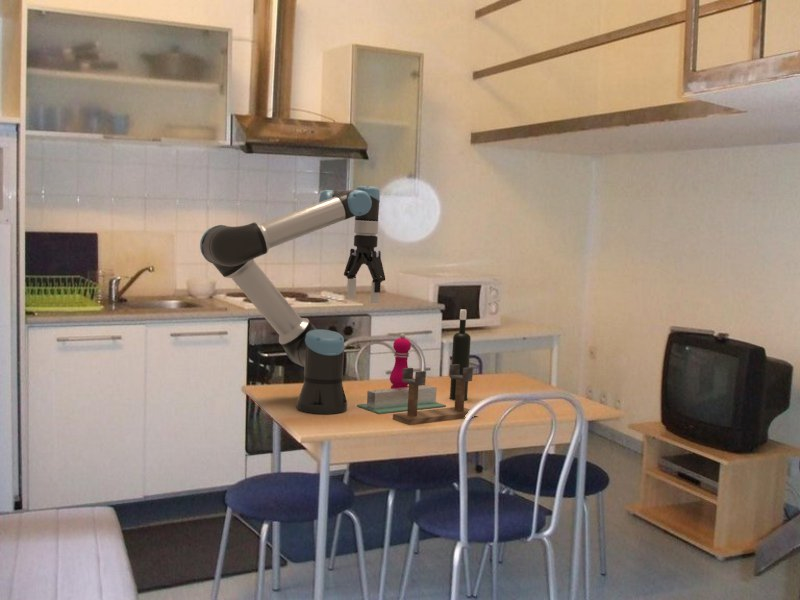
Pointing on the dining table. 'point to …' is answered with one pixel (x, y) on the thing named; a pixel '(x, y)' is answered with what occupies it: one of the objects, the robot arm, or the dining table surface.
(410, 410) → the hook stand
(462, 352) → the wine bottle
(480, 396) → the dining table surface
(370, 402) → the rail
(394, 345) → the pepper mill
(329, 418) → the dining table surface
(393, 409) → the mat
